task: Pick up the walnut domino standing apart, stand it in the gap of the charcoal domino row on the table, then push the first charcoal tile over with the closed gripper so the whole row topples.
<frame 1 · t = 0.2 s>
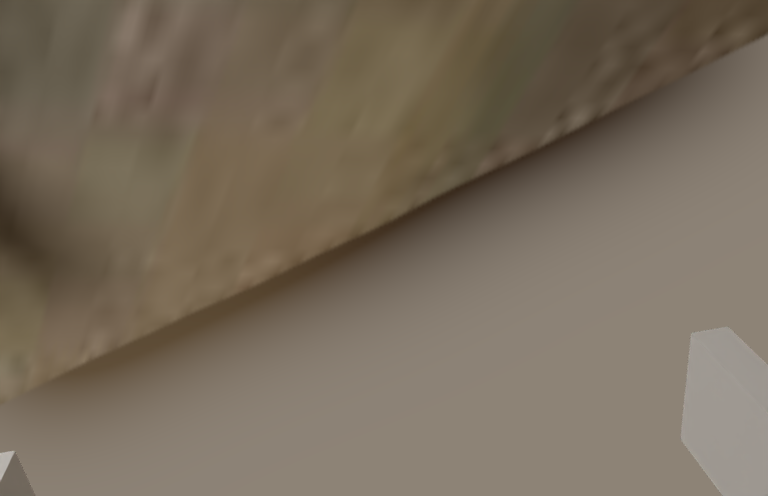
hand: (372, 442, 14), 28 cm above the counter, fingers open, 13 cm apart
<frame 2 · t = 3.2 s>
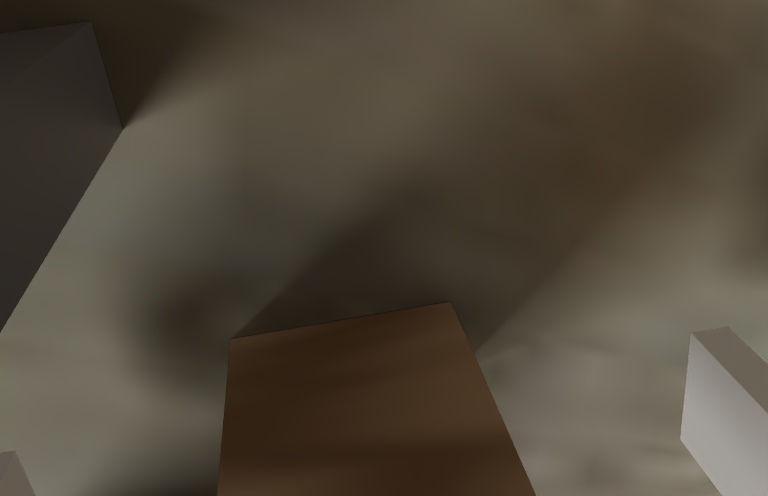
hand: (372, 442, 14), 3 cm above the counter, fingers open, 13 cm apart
walnut domino: (347, 356, 17), on the counter
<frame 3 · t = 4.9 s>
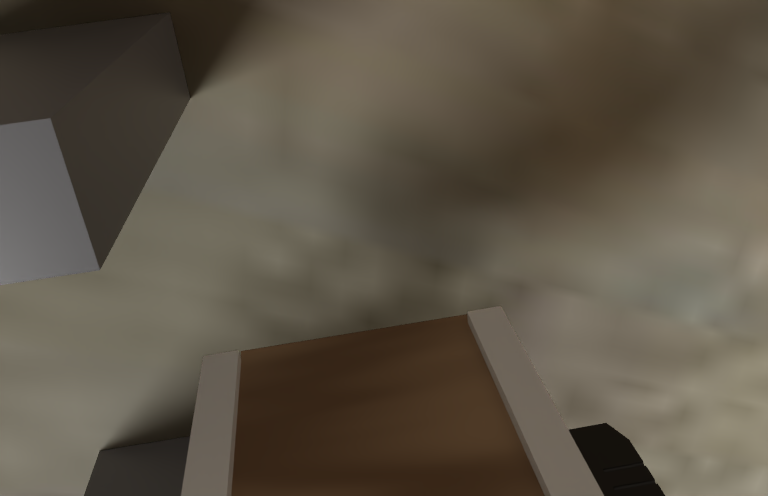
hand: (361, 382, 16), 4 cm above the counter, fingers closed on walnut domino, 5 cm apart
domino 3: (191, 462, 22), on the counter
domino 2: (72, 71, 17), on the counter
walnut domino: (360, 369, 16), point 4 cm above the counter, touching gripper
when the fingers open (0 cm above the counter, at t = 9.1 s): walnut domino stays where it is, on the counter.
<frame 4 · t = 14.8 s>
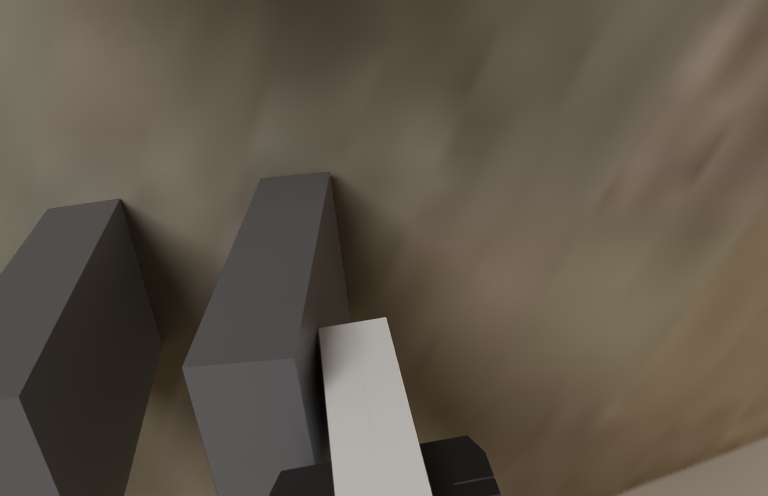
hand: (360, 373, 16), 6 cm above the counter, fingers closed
domino 2: (108, 280, 21), on the counter
domino 1: (308, 252, 22), on the counter, tilted 8°
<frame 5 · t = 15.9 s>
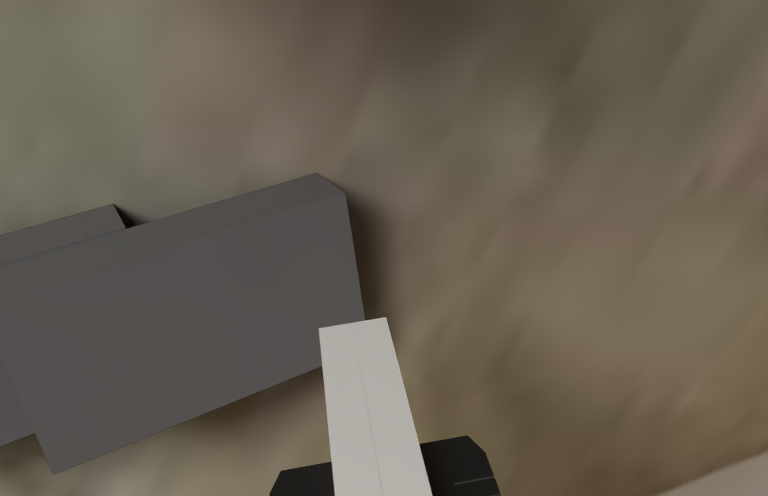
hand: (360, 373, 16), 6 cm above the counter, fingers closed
domino 2: (143, 293, 21), point 1 cm above the counter, tilted 70°, touching domino 1, walnut domino
domino 1: (343, 261, 21), point 1 cm above the counter, tilted 70°, touching domino 2
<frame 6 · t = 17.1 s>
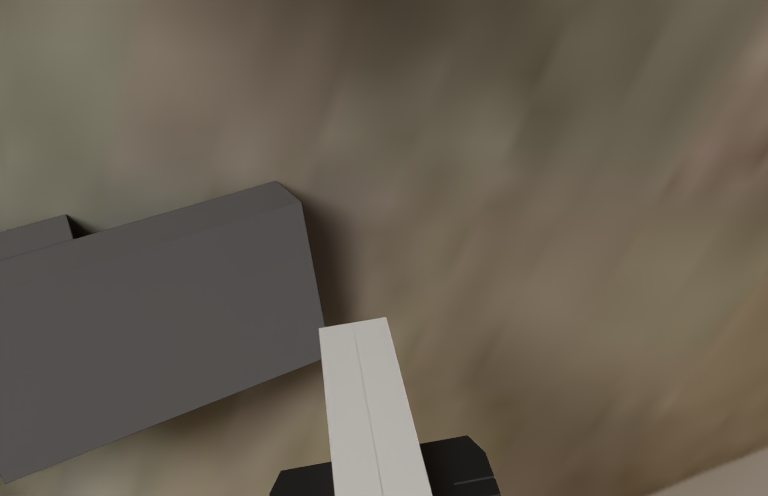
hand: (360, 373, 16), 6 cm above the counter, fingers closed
domino 2: (96, 304, 21), point 1 cm above the counter, tilted 71°, touching domino 1
domino 1: (303, 269, 21), point 1 cm above the counter, tilted 70°, touching domino 2
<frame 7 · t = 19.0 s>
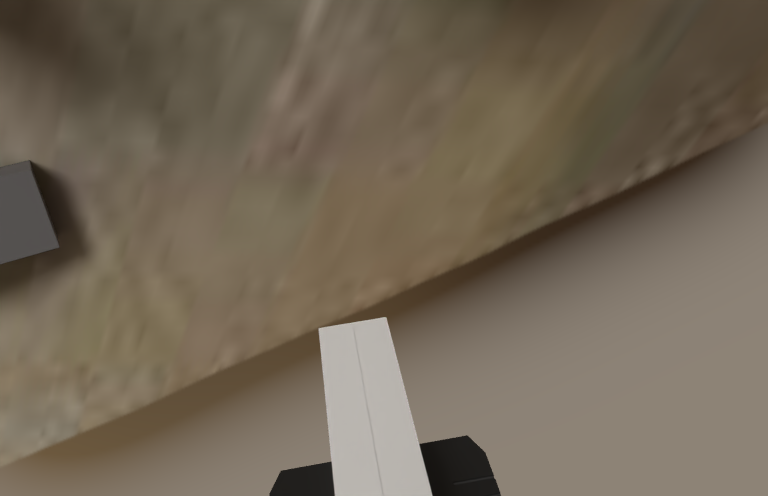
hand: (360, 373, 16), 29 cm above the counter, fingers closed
domino 1: (44, 204, 43), point 1 cm above the counter, tilted 71°, touching domino 2
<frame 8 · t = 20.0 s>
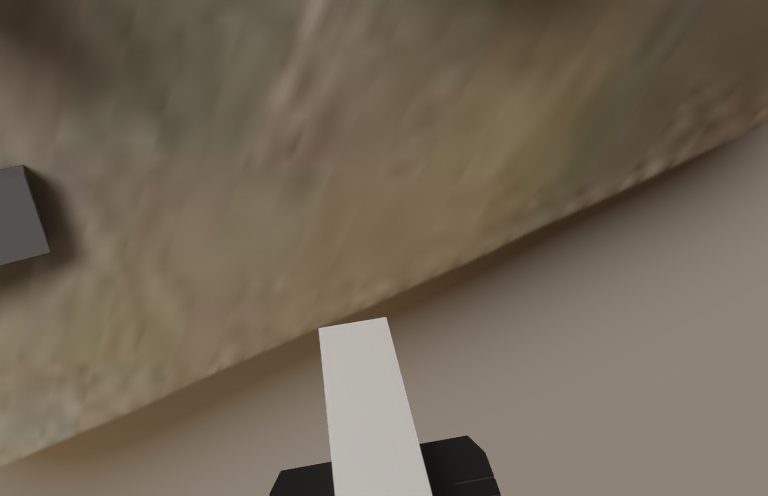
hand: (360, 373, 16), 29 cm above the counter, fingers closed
domino 1: (36, 208, 43), point 1 cm above the counter, tilted 71°, touching domino 2
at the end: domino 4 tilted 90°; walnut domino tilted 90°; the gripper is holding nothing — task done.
